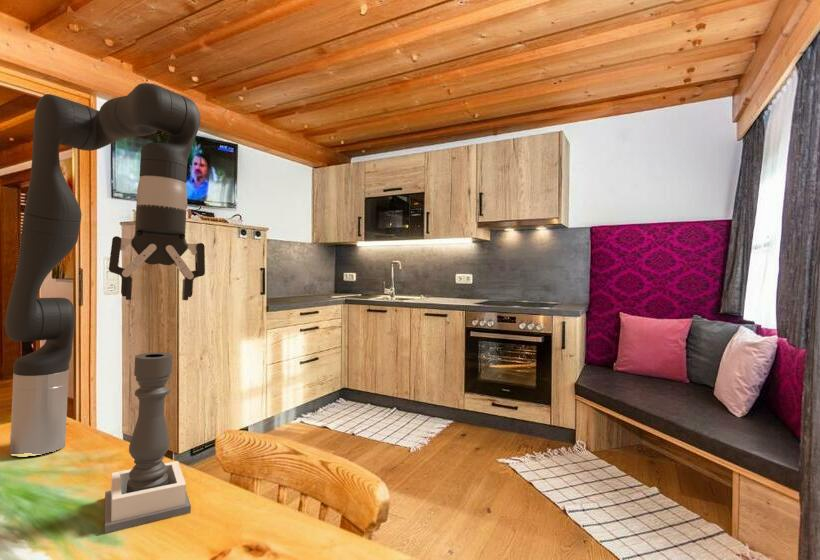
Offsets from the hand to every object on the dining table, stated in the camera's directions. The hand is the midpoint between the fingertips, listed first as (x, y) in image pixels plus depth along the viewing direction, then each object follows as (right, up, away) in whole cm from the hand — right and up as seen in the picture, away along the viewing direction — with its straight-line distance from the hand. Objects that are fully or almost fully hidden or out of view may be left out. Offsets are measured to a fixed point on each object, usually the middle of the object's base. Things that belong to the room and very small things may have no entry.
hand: (157, 299), depth 75 cm
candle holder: (-2, -35, 0) cm, 35 cm away
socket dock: (-2, -36, 0) cm, 36 cm away
